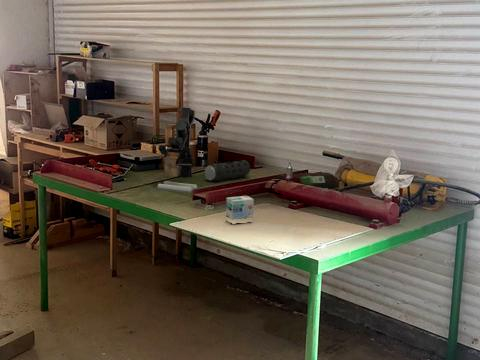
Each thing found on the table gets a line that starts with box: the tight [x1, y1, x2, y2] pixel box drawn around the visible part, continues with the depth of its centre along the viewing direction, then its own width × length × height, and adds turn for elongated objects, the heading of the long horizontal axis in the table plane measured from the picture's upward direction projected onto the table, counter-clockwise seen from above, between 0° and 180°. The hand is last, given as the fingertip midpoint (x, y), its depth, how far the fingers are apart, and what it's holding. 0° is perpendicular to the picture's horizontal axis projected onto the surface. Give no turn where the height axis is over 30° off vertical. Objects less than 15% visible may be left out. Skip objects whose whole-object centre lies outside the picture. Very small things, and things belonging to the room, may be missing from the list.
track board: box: [156, 180, 199, 194], centre depth 312 cm, size 11×19×2 cm, turn 70°
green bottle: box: [271, 171, 341, 189], centre depth 316 cm, size 39×10×10 cm, turn 110°
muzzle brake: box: [204, 159, 251, 182], centre depth 339 cm, size 10×28×10 cm, turn 133°
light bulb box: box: [225, 195, 255, 220], centre depth 256 cm, size 11×7×11 cm, turn 117°
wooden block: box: [163, 155, 179, 178], centre depth 311 cm, size 4×6×10 cm, turn 68°
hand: (170, 163), depth 309 cm, fingers closed on wooden block, 6 cm apart
